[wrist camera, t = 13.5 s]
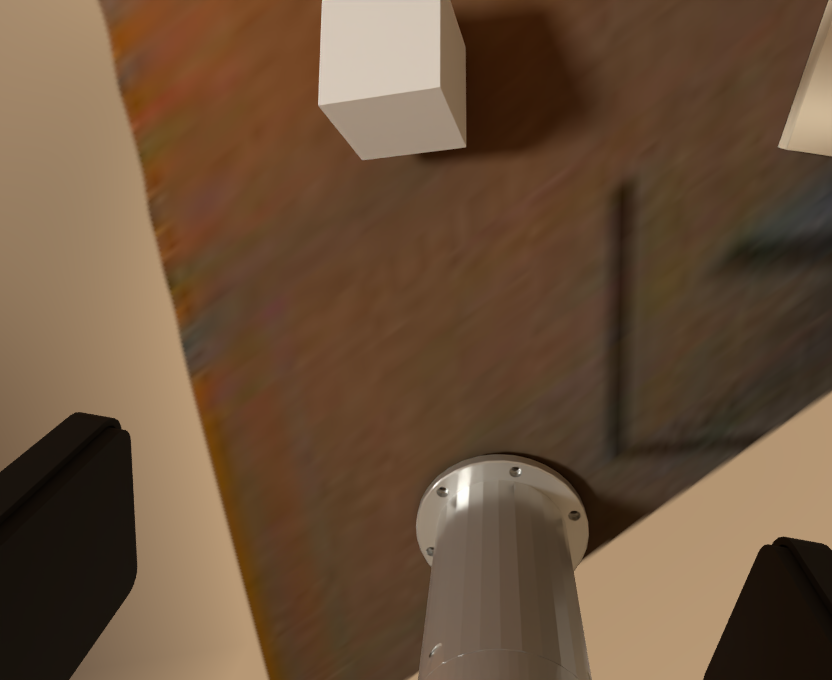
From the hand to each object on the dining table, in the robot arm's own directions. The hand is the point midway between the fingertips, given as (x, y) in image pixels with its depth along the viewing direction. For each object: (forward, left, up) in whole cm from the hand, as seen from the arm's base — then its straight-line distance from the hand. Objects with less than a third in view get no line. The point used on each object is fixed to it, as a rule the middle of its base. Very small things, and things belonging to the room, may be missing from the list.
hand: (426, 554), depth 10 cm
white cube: (+6, +5, -32) cm, 33 cm away
